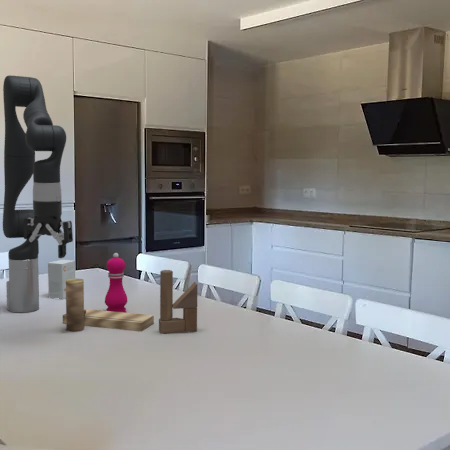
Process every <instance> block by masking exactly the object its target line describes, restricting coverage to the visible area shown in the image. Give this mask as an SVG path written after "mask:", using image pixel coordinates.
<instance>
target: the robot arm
mask: <svg viewBox="0 0 450 450" xmlns="http://www.w3.org/2000/svg"><path fill="white" fill-rule="evenodd" d="M2 91H3V95H2V96H3V110H4V113H3V114H4V147H3V148H4V149H3V156H4V157H3V164H4V165H3V169H4V170H3V171H4V197H3V198H4V199H3V210H2V211H3V212H2V231H3V235H4V237H6V238H7V239H18V238H19V239H20V238H23V239H24V240H25V241H23V242H22V243H21V244H20V245H17V246H16V247H13V248H10V249H9V251H8V281H6V285H5V287H6V310H7V311H10V312H11V313H30V312H35V311H37V310H39V309H40V290H39V289H40V288H39V286H40V285H39V283H40V282H39V280H40V278H39V252H40V251H39V249H40V247H39V239H40V238H41V236H44V235H46V236H50V237H51V236H52V237H53V239H55V240H56V242H57V243H58V245H57V255H58V256H57V257H58V259H63V258H65V257H66V255H67V244H69V243H73V241H74V238H73V237H74V236H73V223H72V220H66V221H65V220H64V221H63V220H62V213H63V212H62V211H63V210H62V207H63V206H62V204H63V203H62V202H63V201H62V186H61V162H62V158H63V154H64V151H65V147H66V143H67V132H66V131H65V129H64V127H63V126H61V125H54V124H53V121H52V118H51V116H50V114H49V113H48V110H47V105H46V99H45V95H44V90H43V86H42V84H41V81H40V80H39V79H38V78H35V77H32V76H22V75H11V74H10V75H7V76H5V78H4V80H3V89H2ZM16 107H19V108H20V107H21V108H24V111H23V114H22V116H23V122H24V124H25V126H26V131H25V130H24V128H23V126H22V125H21V122H20V120H19V117H18V115H17V109H16ZM36 152H51V153H50V156H49V157H47V158H44V159H40V160H36ZM31 178H32V179H33V182H32V183H33V185H32V208H31V209H30V208H29V209H28V208H27V209H16V204H17V201H18V199H19V197H20V194H21V193H22V191H23V190H24V188H25V186H26V185H27V184H28V183H29V181H30V179H31Z"/></svg>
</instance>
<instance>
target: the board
mask: <svg viewBox="0 0 450 450" xmlns="http://www.w3.org/2000/svg"><path fill="white" fill-rule="evenodd" d="M84 310H86V314H85V316H84V327H85V326H89V327H94V328H95V327H98V328H108V329H116V330H127V331H134V332H135V331H136V332H142V331H144V330H146V329H147V328H148V327H150V326H152V325H153V324H154V323H155V321H154V320H155V317H154V316H155V315H154V314H145V313H144V314H143V313H135V312H134V313H133V312H126V313H124V312H113V311H106V310H102V309H101V310H100V309H88V308H84ZM65 323H66V313H65V314H63V315H62V324H65Z"/></svg>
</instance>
